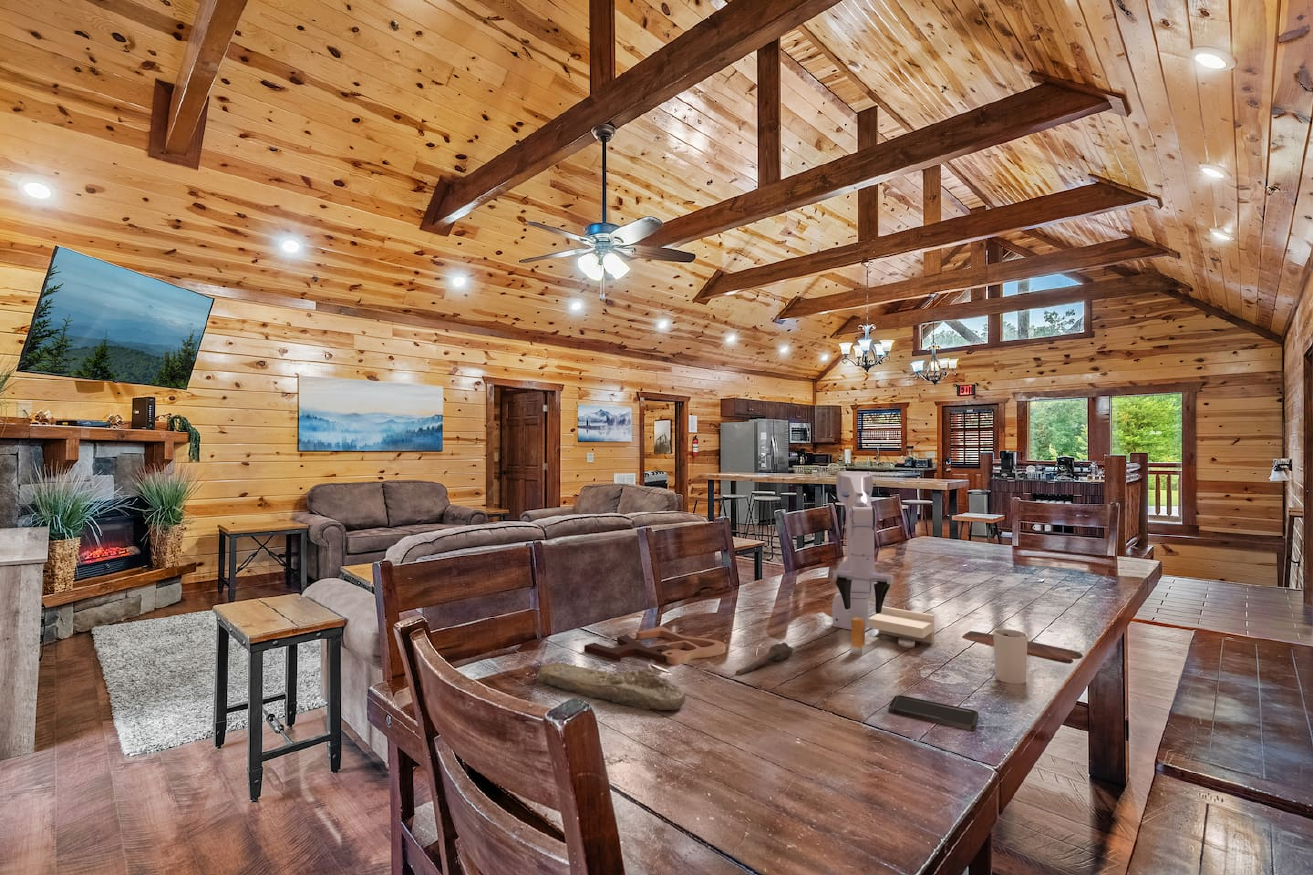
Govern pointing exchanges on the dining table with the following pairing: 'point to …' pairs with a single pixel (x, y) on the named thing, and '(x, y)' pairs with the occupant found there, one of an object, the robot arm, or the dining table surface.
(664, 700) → the elongated rock
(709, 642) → the wood carving
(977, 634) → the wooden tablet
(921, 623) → the cream shelf
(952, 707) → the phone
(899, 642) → the disc
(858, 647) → the blade tool
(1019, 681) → the white cup
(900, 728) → the dining table surface
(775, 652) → the natural artifact
